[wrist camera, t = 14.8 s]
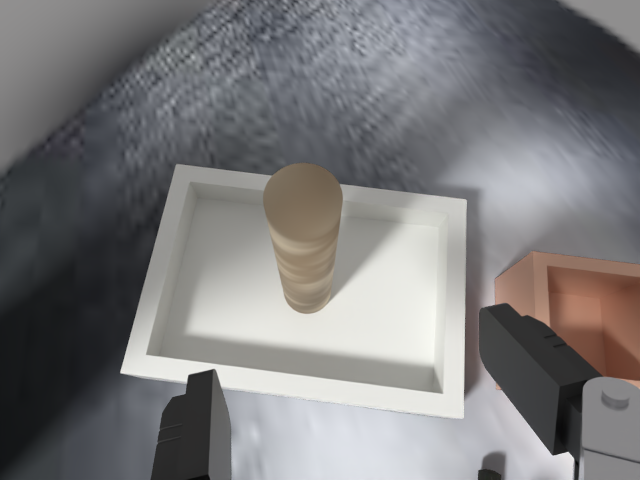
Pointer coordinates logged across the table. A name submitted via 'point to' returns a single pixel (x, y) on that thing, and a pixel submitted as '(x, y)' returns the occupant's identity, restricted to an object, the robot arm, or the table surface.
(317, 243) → the dowel pin
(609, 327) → the pot
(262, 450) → the table surface
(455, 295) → the tray
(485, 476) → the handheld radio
